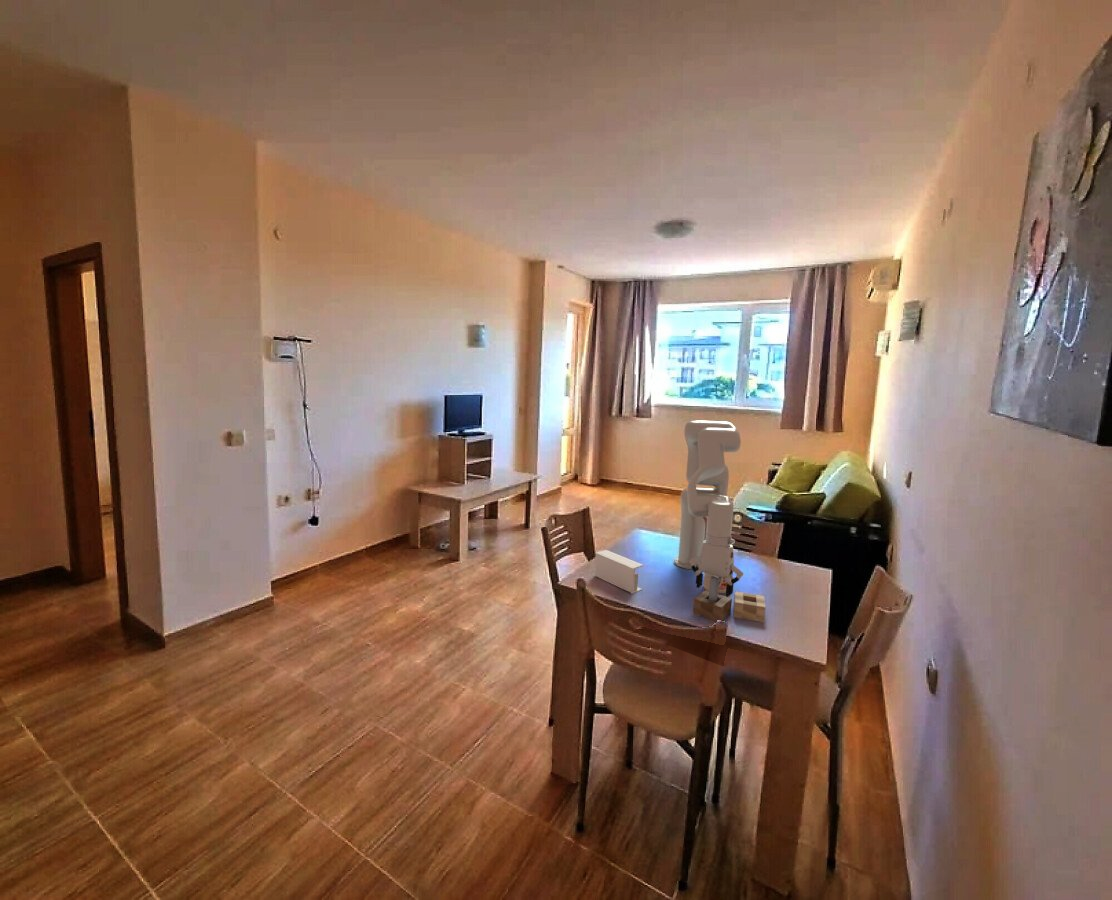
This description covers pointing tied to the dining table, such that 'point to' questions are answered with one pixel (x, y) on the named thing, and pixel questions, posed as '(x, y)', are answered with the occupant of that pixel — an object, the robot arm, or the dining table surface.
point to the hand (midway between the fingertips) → (713, 590)
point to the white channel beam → (617, 570)
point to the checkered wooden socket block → (749, 606)
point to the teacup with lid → (720, 587)
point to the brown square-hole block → (712, 606)
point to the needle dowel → (713, 588)
